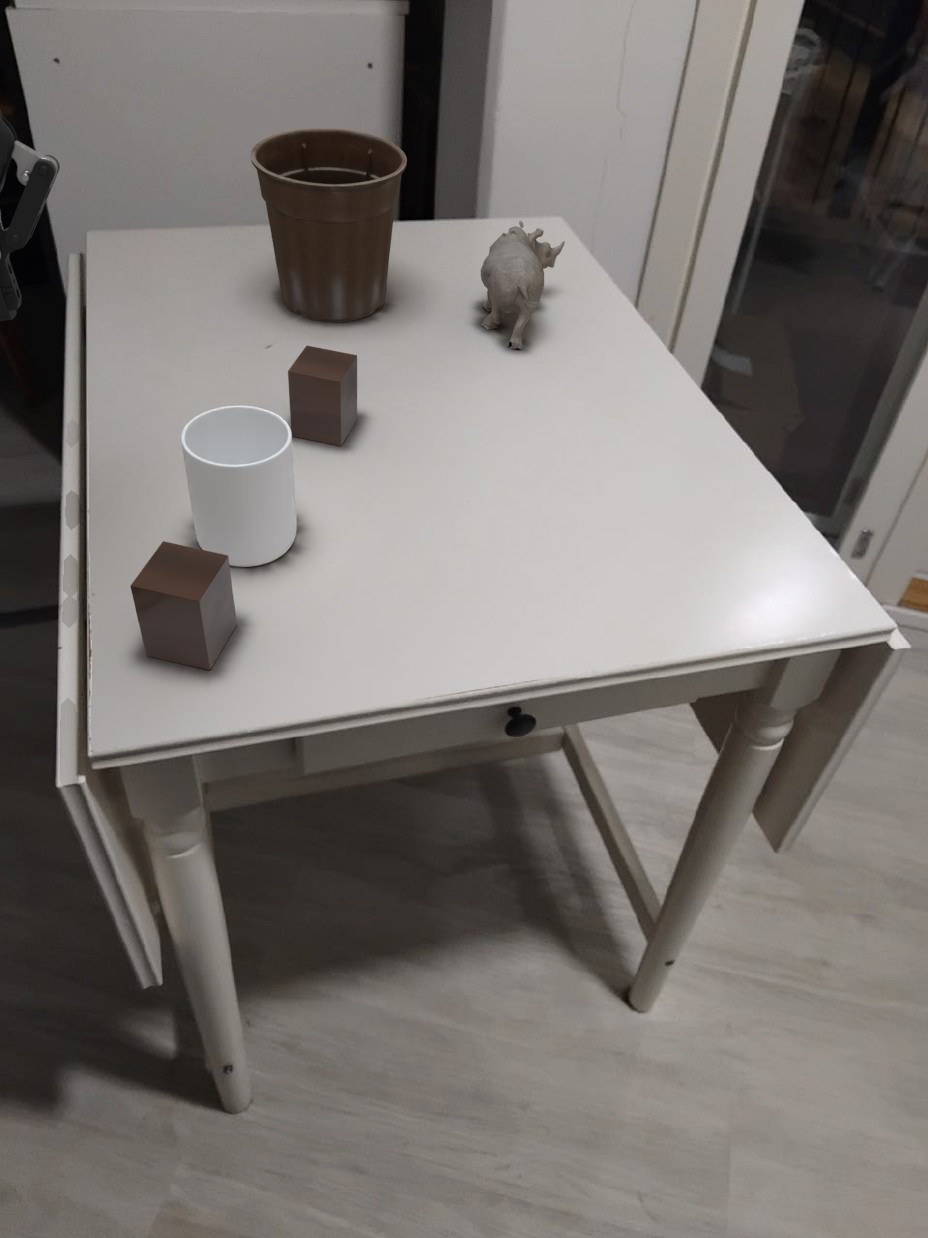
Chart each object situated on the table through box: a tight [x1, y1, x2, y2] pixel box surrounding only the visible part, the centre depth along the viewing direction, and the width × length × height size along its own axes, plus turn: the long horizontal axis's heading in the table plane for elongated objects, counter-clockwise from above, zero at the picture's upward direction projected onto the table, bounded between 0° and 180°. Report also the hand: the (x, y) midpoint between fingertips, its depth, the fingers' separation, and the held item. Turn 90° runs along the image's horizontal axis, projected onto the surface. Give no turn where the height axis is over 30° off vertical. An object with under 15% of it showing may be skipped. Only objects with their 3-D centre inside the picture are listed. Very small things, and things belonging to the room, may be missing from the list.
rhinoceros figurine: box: [480, 220, 566, 351], centre depth 108 cm, size 8×14×15 cm
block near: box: [130, 540, 238, 671], centre depth 68 cm, size 5×5×7 cm
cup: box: [180, 405, 298, 568], centre depth 77 cm, size 8×12×10 cm
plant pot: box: [250, 128, 408, 323], centre depth 105 cm, size 16×16×16 cm
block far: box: [287, 345, 358, 447], centre depth 89 cm, size 5×5×7 cm
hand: (4, 317), depth 64 cm, fingers closed
